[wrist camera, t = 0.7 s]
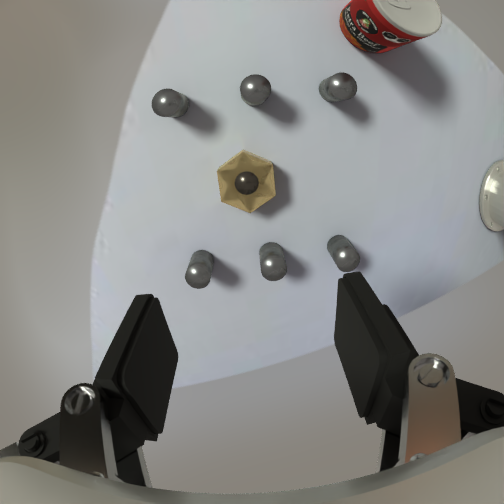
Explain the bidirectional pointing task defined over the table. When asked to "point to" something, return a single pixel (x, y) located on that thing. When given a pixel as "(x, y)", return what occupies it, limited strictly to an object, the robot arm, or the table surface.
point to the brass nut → (246, 181)
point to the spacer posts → (270, 253)
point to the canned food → (388, 22)
